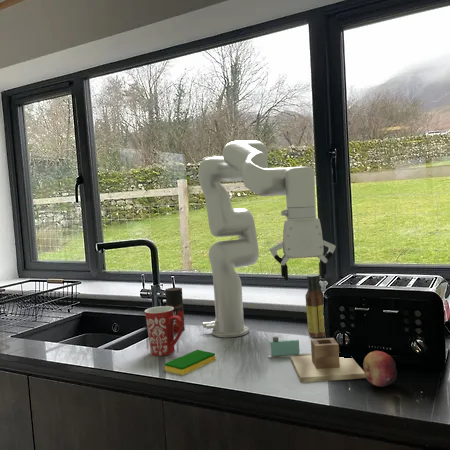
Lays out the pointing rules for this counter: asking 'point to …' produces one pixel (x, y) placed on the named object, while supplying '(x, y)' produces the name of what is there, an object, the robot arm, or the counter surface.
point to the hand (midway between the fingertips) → (304, 278)
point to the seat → (311, 374)
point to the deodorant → (175, 305)
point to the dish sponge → (189, 362)
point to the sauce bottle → (315, 307)
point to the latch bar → (284, 347)
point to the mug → (162, 329)
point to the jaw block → (325, 353)
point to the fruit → (380, 368)
